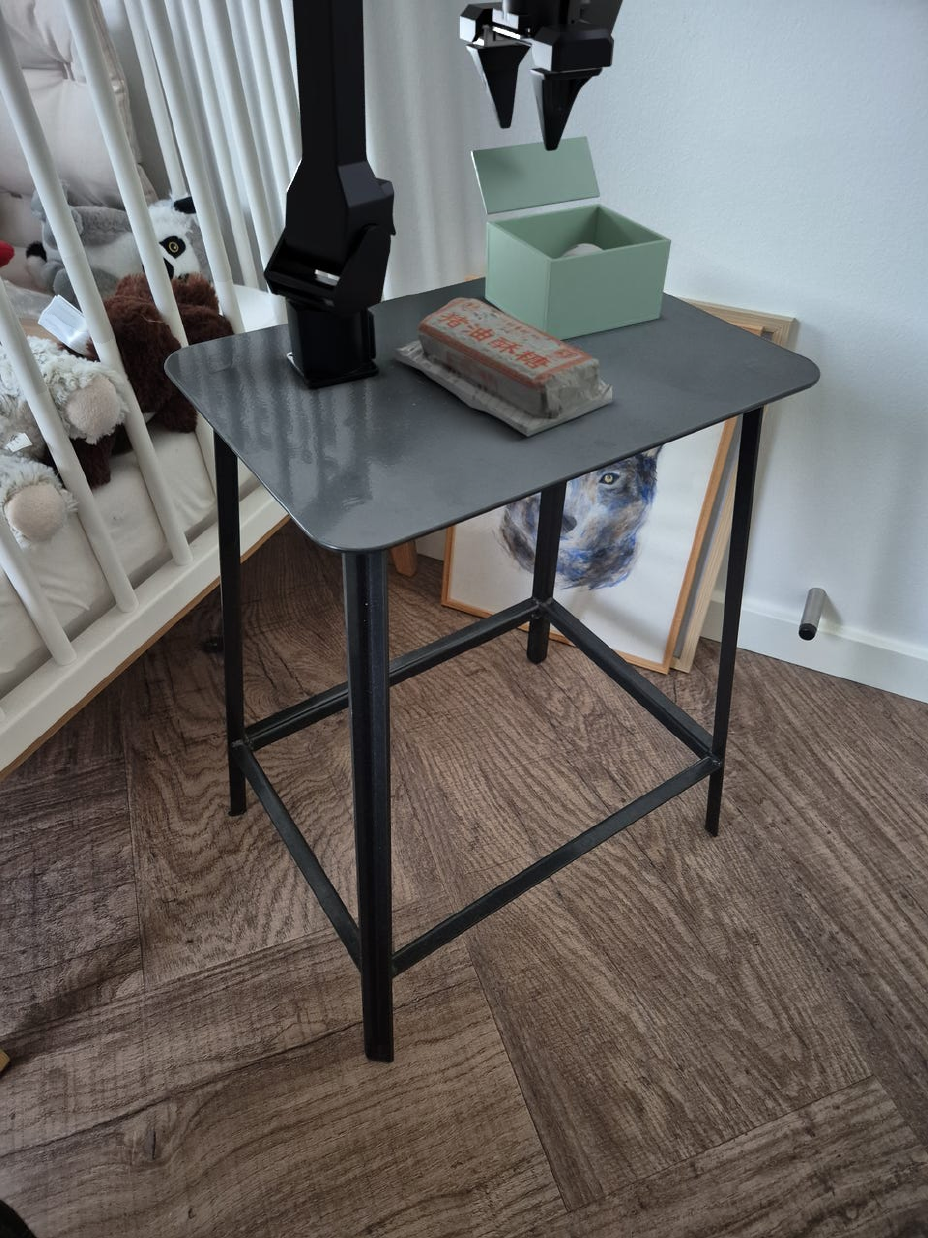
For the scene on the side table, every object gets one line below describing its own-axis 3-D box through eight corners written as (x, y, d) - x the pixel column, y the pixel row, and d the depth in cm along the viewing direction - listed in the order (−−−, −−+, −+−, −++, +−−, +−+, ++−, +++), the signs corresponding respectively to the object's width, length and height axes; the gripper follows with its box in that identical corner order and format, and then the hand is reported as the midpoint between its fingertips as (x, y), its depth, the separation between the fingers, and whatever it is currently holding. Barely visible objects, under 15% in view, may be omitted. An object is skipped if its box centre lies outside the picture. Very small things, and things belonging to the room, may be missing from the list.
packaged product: (623, 349, 70) (530, 385, 66) (616, 404, 73) (527, 442, 69) (479, 281, 81) (390, 308, 76) (478, 332, 84) (393, 361, 79)
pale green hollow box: (545, 343, 82) (551, 261, 77) (485, 298, 90) (486, 221, 85) (659, 318, 87) (671, 239, 82) (592, 277, 95) (599, 203, 90)
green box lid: (472, 150, 84) (470, 152, 84) (487, 213, 85) (486, 214, 85) (586, 135, 88) (584, 137, 89) (600, 195, 89) (598, 197, 89)
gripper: (677, -56, 73) (650, 152, 83) (561, -73, 85) (550, 109, 96) (561, -51, 69) (548, 167, 79) (457, -69, 82) (457, 120, 92)
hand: (527, 138), depth 87 cm, fingers open, 9 cm apart
